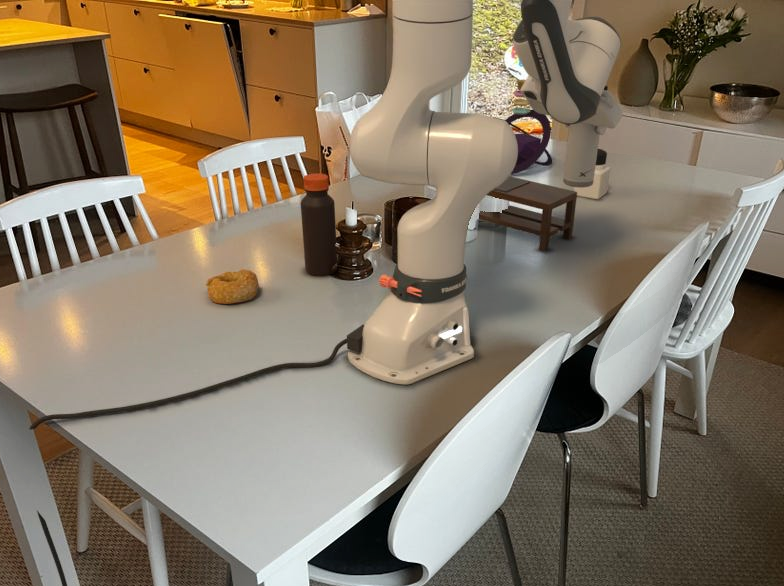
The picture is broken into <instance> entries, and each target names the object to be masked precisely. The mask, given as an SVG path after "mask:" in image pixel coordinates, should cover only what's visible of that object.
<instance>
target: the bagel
mask: <svg viewBox="0 0 784 586" xmlns="http://www.w3.org/2000/svg"><path fill="white" fill-rule="evenodd" d="M205 285H206V287H207V294H208V296H209V298H210V300H211V301H212V302H213V303H214V304H215V303H216V304H223V305H231V304H237V303H244V302H247V301H250V300H253V299H254V297H255V296H256V295H257V294H258V287H259V279H258V276H257V274H256V273H255V272H253V271H252V270H250V269H239V270H238V271H226V272H224V273H220V274H218V275H214V276H212V277H210V278H208V279H207V281H206V283H205Z"/></svg>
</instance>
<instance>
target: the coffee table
mask: <svg viewBox="0 0 784 586" xmlns="http://www.w3.org/2000/svg"><path fill="white" fill-rule="evenodd" d="M486 196H487V197H492V198H493V197H495V198H499V199H502V200H503V201H507V202H511V203H516V204H519V205H523V206H527V207H531V208H535V209H538V210H542V212H537V211H533V210H529V209H525V208H522V207H518V206H515V205H510V204H508V205H509V206H508V209H505V210H502V213H500V212H485V211H484V212H483V211H480V213H479V219H478V220H481V221H484V222H487V223H491V224H495V225H499V226H502V227H506V228H509V229H513V230H516V231H520V232H524V233H527V234H530V235H534V236H538V237H539V242H538V251H540V252H543V253H546V252H547V251H549V247H550V238H551V237H554V236H555V235H557V234H559V231H560V232H562V239H565V240H570V239H572V238H573V230H574V222H575V215H576V214H575V213H576V206H577V199H578V198H577V197H578V196H577V192H575V191H574V190H570V189H566V188H563V187H558V186H554V185H549V184H545V183H541V182H536V181H534V180H533V181H532V180H528V179H523V178H520V177H514V176H511V175H510V176H509V177H508V178H507V179H506V180H505V181H504V182H503V183H502V184H501V185H499V186H498V187H496V188H494V189H493V190H492V191H490V192H489V193H488V194H487V195H486ZM563 205H565V213H564V218H560V217H557V216H553V210H554V209H556V208H559V207H561V206H563Z"/></svg>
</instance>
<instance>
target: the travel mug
mask: <svg viewBox="0 0 784 586" xmlns="http://www.w3.org/2000/svg"><path fill="white" fill-rule="evenodd" d="M608 88H609V87H608V85H605V87H604V90H606V91H608V90H609V89H608ZM595 127H596V126H595V125H592V124H587V123H582V122H580V123H577V124H571V125H570V127H569V128H568V136H567V146H566V154H565V162H564V163H565V164H564V171H563V174H564V175H563V180H562V181H563V183H564V185H566V186H569V187H572V188H574V187H579V188H583V187H589V186H591V185H593V181H594V173H595V166H596V158H597V151H598V149H599V143H600V136H601V135H599V134H596V132H595V131H594V128H595Z"/></svg>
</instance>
